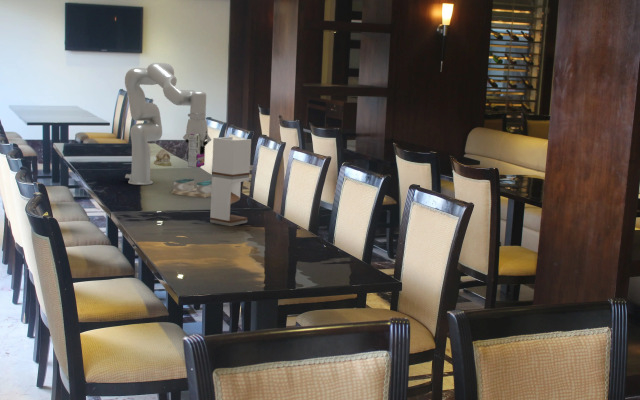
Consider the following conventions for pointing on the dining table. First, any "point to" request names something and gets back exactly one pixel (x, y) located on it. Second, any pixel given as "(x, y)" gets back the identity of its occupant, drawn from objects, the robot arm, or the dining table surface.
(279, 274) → the dining table surface
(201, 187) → the rail board
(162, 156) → the ceramic model
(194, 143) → the candy bar box
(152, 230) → the dining table surface
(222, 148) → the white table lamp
